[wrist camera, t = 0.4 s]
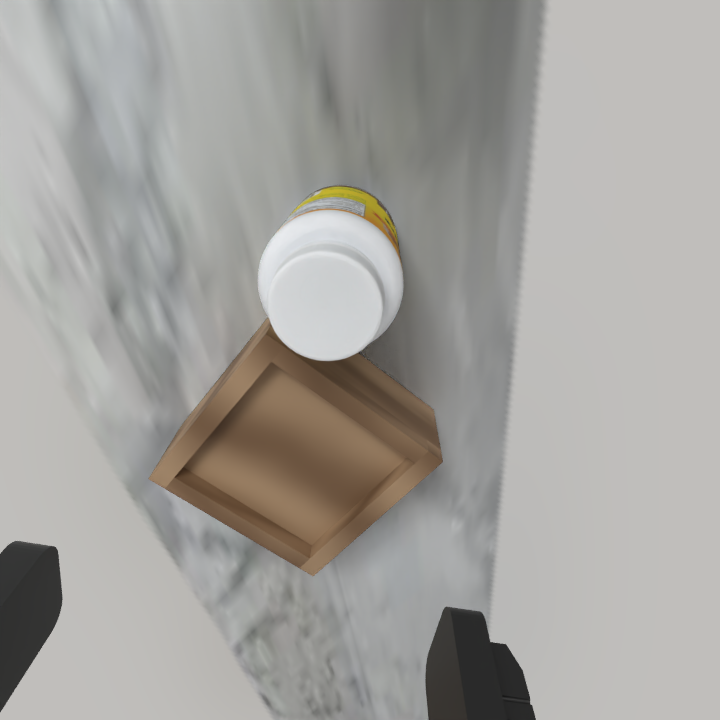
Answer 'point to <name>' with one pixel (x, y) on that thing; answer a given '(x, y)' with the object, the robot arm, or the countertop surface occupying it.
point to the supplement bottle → (332, 274)
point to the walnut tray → (300, 450)
